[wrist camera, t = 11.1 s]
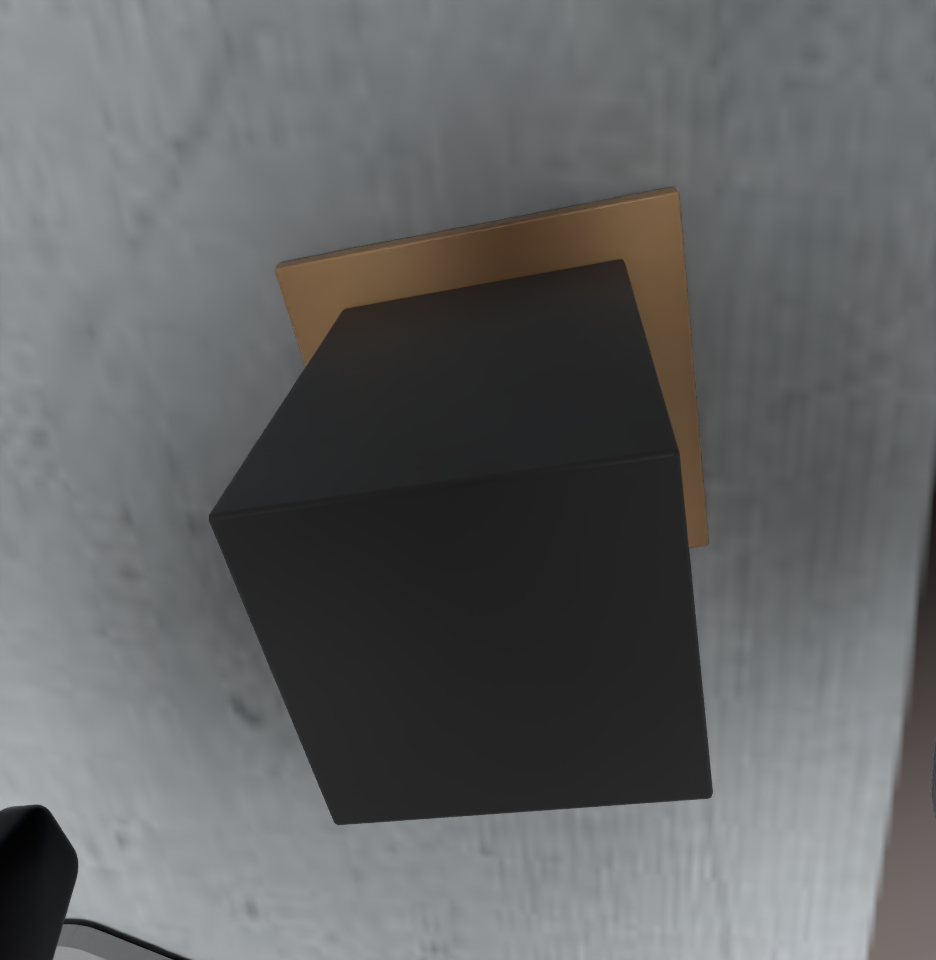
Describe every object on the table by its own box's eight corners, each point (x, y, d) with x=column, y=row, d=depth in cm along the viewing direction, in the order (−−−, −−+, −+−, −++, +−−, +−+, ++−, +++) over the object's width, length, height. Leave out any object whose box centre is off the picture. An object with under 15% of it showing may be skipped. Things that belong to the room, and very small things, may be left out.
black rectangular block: (623, 257, 14) (680, 450, 8) (653, 507, 17) (714, 800, 11) (341, 308, 15) (203, 517, 9) (408, 539, 18) (333, 827, 11)
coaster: (676, 185, 14) (679, 190, 14) (705, 535, 17) (709, 546, 17) (279, 262, 15) (272, 268, 15) (378, 576, 19) (374, 586, 18)
